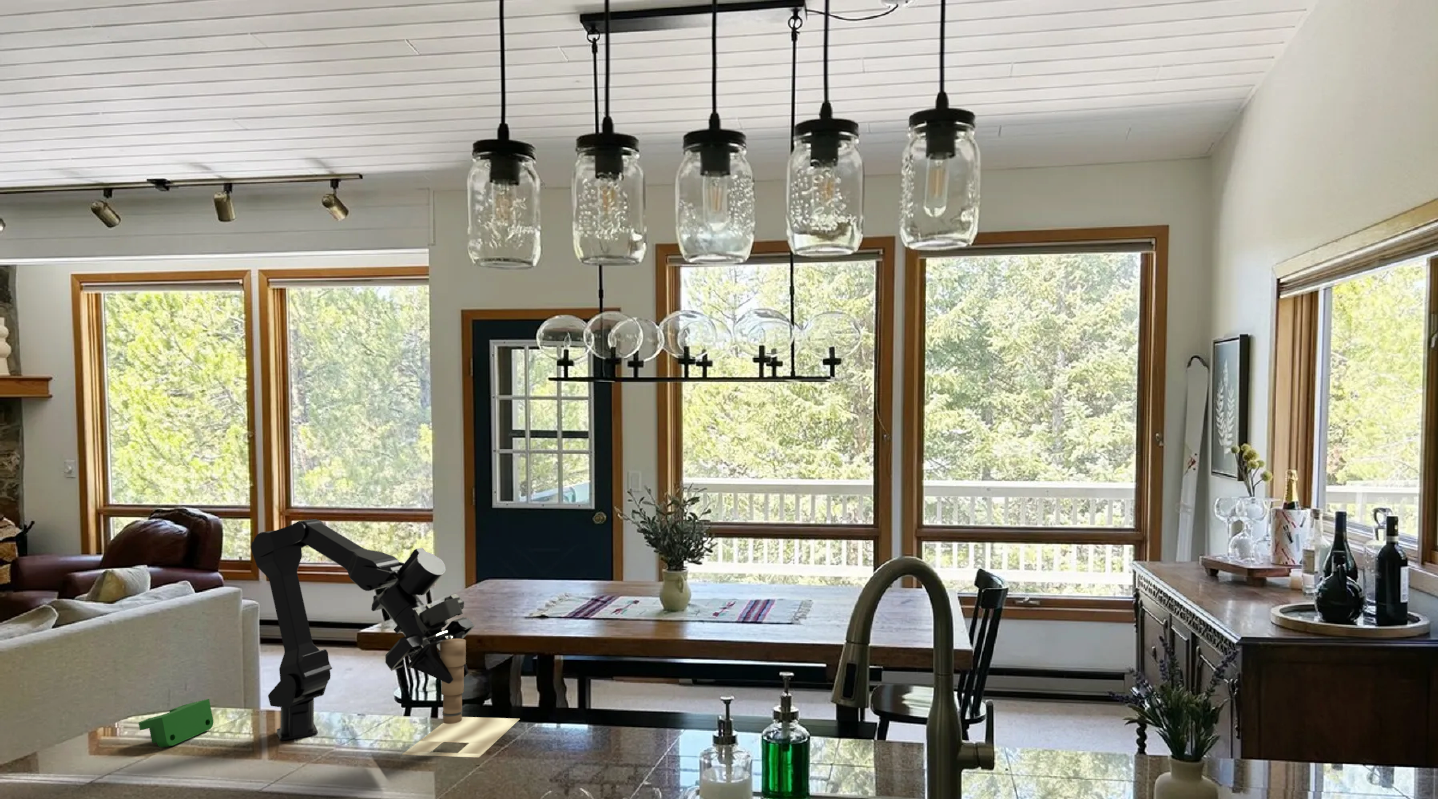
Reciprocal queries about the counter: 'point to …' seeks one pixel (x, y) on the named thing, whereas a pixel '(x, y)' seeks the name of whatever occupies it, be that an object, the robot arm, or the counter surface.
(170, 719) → the green mounting bracket
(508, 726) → the board
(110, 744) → the counter surface
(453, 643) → the peg
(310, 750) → the counter surface
